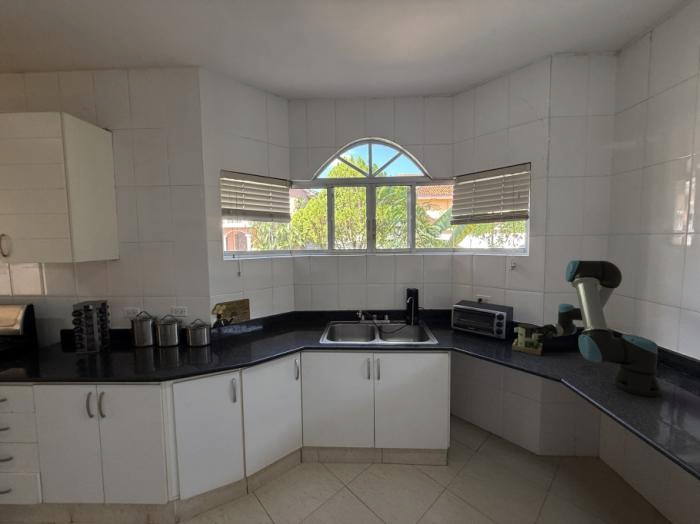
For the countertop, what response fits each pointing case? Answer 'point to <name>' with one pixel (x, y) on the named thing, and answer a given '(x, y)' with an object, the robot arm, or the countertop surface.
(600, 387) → the countertop surface
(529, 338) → the coffee can
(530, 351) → the oak bay tray
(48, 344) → the countertop surface
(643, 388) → the robot arm
